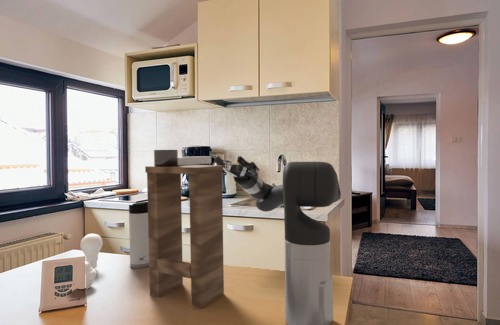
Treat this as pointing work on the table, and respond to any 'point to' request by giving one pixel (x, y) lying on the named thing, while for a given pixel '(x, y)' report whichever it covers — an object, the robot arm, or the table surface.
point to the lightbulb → (91, 248)
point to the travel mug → (139, 235)
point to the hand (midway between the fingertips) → (227, 158)
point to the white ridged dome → (89, 274)
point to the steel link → (177, 159)
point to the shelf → (201, 231)
